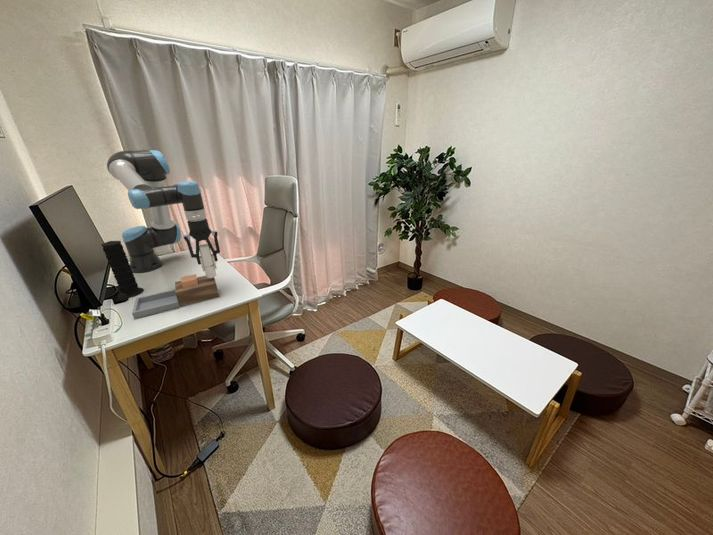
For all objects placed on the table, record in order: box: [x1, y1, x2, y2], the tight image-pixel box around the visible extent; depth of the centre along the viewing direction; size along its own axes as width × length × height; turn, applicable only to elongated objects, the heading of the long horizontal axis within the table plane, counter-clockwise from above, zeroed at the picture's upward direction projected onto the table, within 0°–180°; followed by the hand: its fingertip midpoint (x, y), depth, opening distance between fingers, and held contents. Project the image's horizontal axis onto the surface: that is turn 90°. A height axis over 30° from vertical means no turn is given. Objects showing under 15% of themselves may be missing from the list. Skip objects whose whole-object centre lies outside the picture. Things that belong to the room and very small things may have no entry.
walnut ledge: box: [174, 275, 220, 308], centre depth 127 cm, size 12×16×7 cm
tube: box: [199, 243, 217, 278], centre depth 125 cm, size 4×4×15 cm
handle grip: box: [100, 240, 145, 300], centre depth 127 cm, size 10×26×10 cm
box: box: [131, 289, 181, 320], centre depth 121 cm, size 14×16×3 cm
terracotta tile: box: [180, 273, 198, 288], centre depth 124 cm, size 6×6×3 cm
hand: (209, 268), depth 127 cm, fingers closed on tube, 4 cm apart
